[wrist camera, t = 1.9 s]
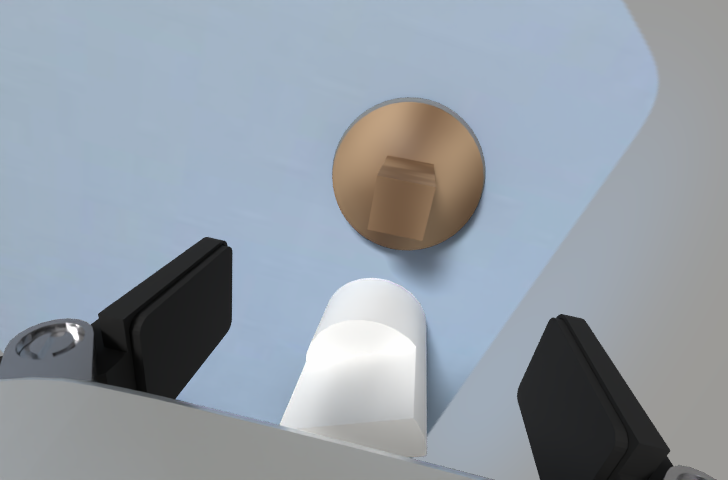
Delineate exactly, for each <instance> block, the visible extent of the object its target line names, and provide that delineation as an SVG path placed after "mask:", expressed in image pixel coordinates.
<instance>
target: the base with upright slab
mask: <svg viewBox="0 0 728 480" xmlns="http://www.w3.org/2000/svg"><path fill="white" fill-rule="evenodd" d="M280 425H281V426H285V427H290V428H294V429H298V430H301V431H305V432H309V433H313V434H317V435H321V436H325V437H329V438H333V439H337V440H341V441H345V442H349V443H353V444H357V445H361V446H365V447H369V448H373V449H377V450H381V451H384V452H388V453H392V454H396V455H400V456H404V457H424V456H426V454H427V346H426V318H425V313H424V311H423V309H422V307H421V304H420V303H419V302H418V300H417V299H416V298H415V297H414V295H413V294H412V293H410V292H409V291H408V290H406V289H405V288H404V287H402V286H401V285H398V284H396V283H393V282H391V281H389V280H384V279H378V278H365V279H358V280H355V281H352V282H349V283H347V284H345V285H344V286H342V287H341V288H339V289H338V290H337V291H336V292H335V293H334V295H333V296H332V297H331V298H330V300H329V303H328V305H327V307H326V309H325V312H324V314H323V316H322V319H321V321H320V323H319V325H318V328H317V330H316V332H315V335H314V337H313V339H312V341H311V344H310V346H309V349H308V351H307V355H306V364H305V366H304V368H303V371H302V373H301V375H300V378H299V380H298V382H297V385H296V387H295V389H294V392H293V394H292V396H291V399H290V401H289V404H288V406H287V408H286V411H285V413H284V415H283V418H282V420H281V422H280Z"/></svg>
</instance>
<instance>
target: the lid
mask: <svg viewBox="0 0 728 480" xmlns="http://www.w3.org/2000/svg"><path fill="white" fill-rule="evenodd" d="M332 178H333V188H334V193H335V197H336V200H337V203H338V206H339V208H340V210H341V212H342V214H343V215H344V217H345V218H346V220H347V221H348V222H349V223H350V225H351V226H352V227H353V228H354V229H355V230H356V231H357V232H358V233H360V234H361V235H362V236H364V237H365V238H367V239H368V240H370V241H372V242H374V243H376V244H378V245H381V246H384V247H387V248H391V249H397V250H419V249H424V248H428V247H431V246H434V245H437V244H439V243H441V242H443V241H445V240H447V239H448V238H450V237H451V236H453V235H454V234H455V233H457V232H458V231H459V230H460V229H461V228H462V227H463V226H464V225H465V224H466V223H467V221H468V220H469V219H470V217H471V216H472V214H473V213H474V211H475V209H476V207H477V205H478V202H479V200H480V197H481V193H482V188H483V179H484V175H483V164H482V159H481V155H480V152H479V149H478V147H477V145H476V143H475V141H474V139H473V137H472V136H471V135H470V133H469V132H468V130H467V129H466V128H465V127H464V126H463V125H462V124H461V123H460V122H459V121H458V120H457V119H456V118H455V117H453V116H452V115H451V114H449V113H448V112H446V111H444V110H442V109H440V108H438V107H435V106H433V105H429V104H425V103H420V102H399V103H393V104H389V105H386V106H383V107H381V108H378V109H376V110H374V111H372V112H371V113H369V114H367V115H366V116H364V117H363V118H362V119H360V120H359V121H358V122H357V123H356V124H355V125H354V126H353V127H352V128H351V129H350V130H349V131H348V133H347V134H346V136H345V137H344V139H343V140H342V142H341V144H340V146H339V148H338V151H337V154H336V157H335V160H334V166H333V177H332Z"/></svg>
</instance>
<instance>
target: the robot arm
mask: <svg viewBox="0 0 728 480" xmlns="http://www.w3.org/2000/svg"><path fill="white" fill-rule="evenodd" d="M98 316H99V319H98V320H96V321H95V322H94V323H92V324H91V325H90V324H89V323H87V322H85V321H82V320H79V319H57V320H52V321H48V322H43V323H40V324H38V325H35V326H32V327H30V328H28V329H26V330H24V331H23V332H21V333H19V334H18V335H16V336H15V337H14V338H13V339H12V340H11V341H10V342H9V343H8V345H7V347H6V348H5V351H4V354H3V356H1V357H0V480H493V479H489V478H485V477H481V476H477V475H474V474H470V473H466V472H462V471H458V470H455V469H451V468H447V467H443V466H439V465H435V464H431V463H428V462H424V461H420V460H416V459H412V458H408V457H404V456H400V455H396V454H392V453H388V452H384V451H381V450H377V449H373V448H369V447H365V446H361V445H357V444H353V443H349V442H345V441H341V440H337V439H333V438H329V437H325V436H321V435H317V434H313V433H309V432H305V431H301V430H298V429H294V428H290V427H285V426H281V425H277V424H273V423H269V422H265V421H261V420H257V419H253V418H249V417H245V416H241V415H237V414H233V413H229V412H225V411H221V410H217V409H213V408H209V407H205V406H200V405H196V404H192V403H188V402H184V401H180V400H175V399H176V397H177V396H178V395H179V393H180V392H181V391H182V390H183V388H184V387H185V386H186V385H187V383H188V382H189V381H190V379H191V378H192V377H193V376H194V374H195V373H196V372H197V370H198V369H199V368H200V367H201V365H202V364H203V363H204V362H205V360H206V359H207V358H208V356H209V355H210V354H211V353H212V351H213V350H214V349H215V347H216V346H217V345H218V344H219V342H220V341H221V340H222V339H223V337H224V336H225V335H226V333H227V332H228V330H229V328H230V326H231V322H232V248H231V247H228V246H227V243H226V242H225V241H223V240H218V239H214V238H209V237H205V238H203V239H202V240H200V241H199V242H197V243H196V244H195V245H193V246H192V247H190V248H189V249H188V250H186V251H185V252H184V253H182V254H181V255H179V256H178V257H177V258H175V259H174V260H172V261H171V262H170V263H168V264H167V265H165V266H164V267H163V268H161V269H160V270H158V271H157V272H156V273H154V274H153V275H151V276H150V277H149V278H147V279H146V280H144V281H143V282H142V283H140V284H139V285H138V286H136V287H135V288H133V289H132V290H131V291H129V292H128V293H126V294H125V295H124V296H122V297H121V298H119V299H118V300H117V301H115V302H114V303H112V304H111V305H110V306H108V307H107V308H105V309H104V310H103V311H101V312H100V313H99V314H98ZM517 399H518V403H519V407H520V410H521V414H522V417H523V421H524V424H525V428H526V431H527V435H528V438H529V442H530V445H531V449H532V453H533V456H534V460H535V463H536V467H537V470H538V474H539V477H540V480H716V479H714V478H713V477H711V476H709V475H707V474H706V473H704V472H701V471H699V470H696V469H694V468H691V467H686V466H681V465H678V466H673V465H672V463H671V462H670V460H669V459H668V457H667V454H668V453H669V452H670V449H669V448H668V446H667V445H666V443H665V442H664V440H663V438H662V437H661V436H660V434H659V432H658V431H657V429H656V428H655V426H654V425H653V423H652V422H651V420H650V419H649V417H648V416H647V414H646V413H645V411H644V410H643V408H642V407H641V405H640V404H639V402H638V400H637V399H636V397H635V396H634V394H633V393H632V391H631V390H630V388H629V387H628V385H627V384H626V382H625V381H624V379H623V378H622V376H621V374H620V373H619V371H618V370H617V368H616V367H615V365H614V364H613V362H612V361H611V359H610V358H609V356H608V355H607V353H606V352H605V350H604V349H603V347H602V346H601V344H600V342H599V341H598V340H597V338H596V337H595V335H594V333H593V332H592V330H591V329H590V327H589V326H588V324H587V323H586V321H585V320H584V319H581V318H577V317H572V316H568V315H563V314H560V315H559V316H557V318H551V319H550V320H549V322H548V324H547V326H546V328H545V331H544V333H543V335H542V337H541V339H540V342H539V344H538V346H537V348H536V350H535V353H534V355H533V357H532V359H531V361H530V364H529V366H528V368H527V371H526V372H525V374H524V377H523V379H522V381H521V383H520V386H519V388H518V393H517Z"/></svg>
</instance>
